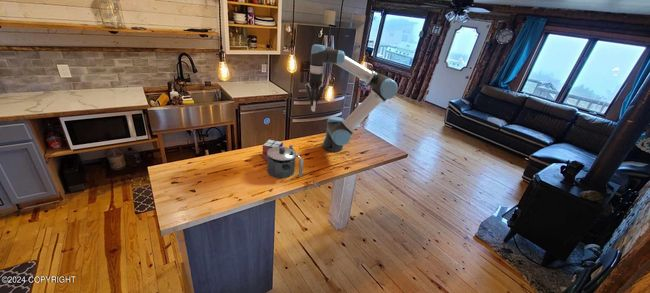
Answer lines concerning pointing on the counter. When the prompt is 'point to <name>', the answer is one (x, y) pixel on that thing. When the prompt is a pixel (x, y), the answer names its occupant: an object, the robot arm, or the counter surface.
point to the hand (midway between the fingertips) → (313, 110)
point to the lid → (282, 153)
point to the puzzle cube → (269, 145)
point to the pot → (283, 167)
